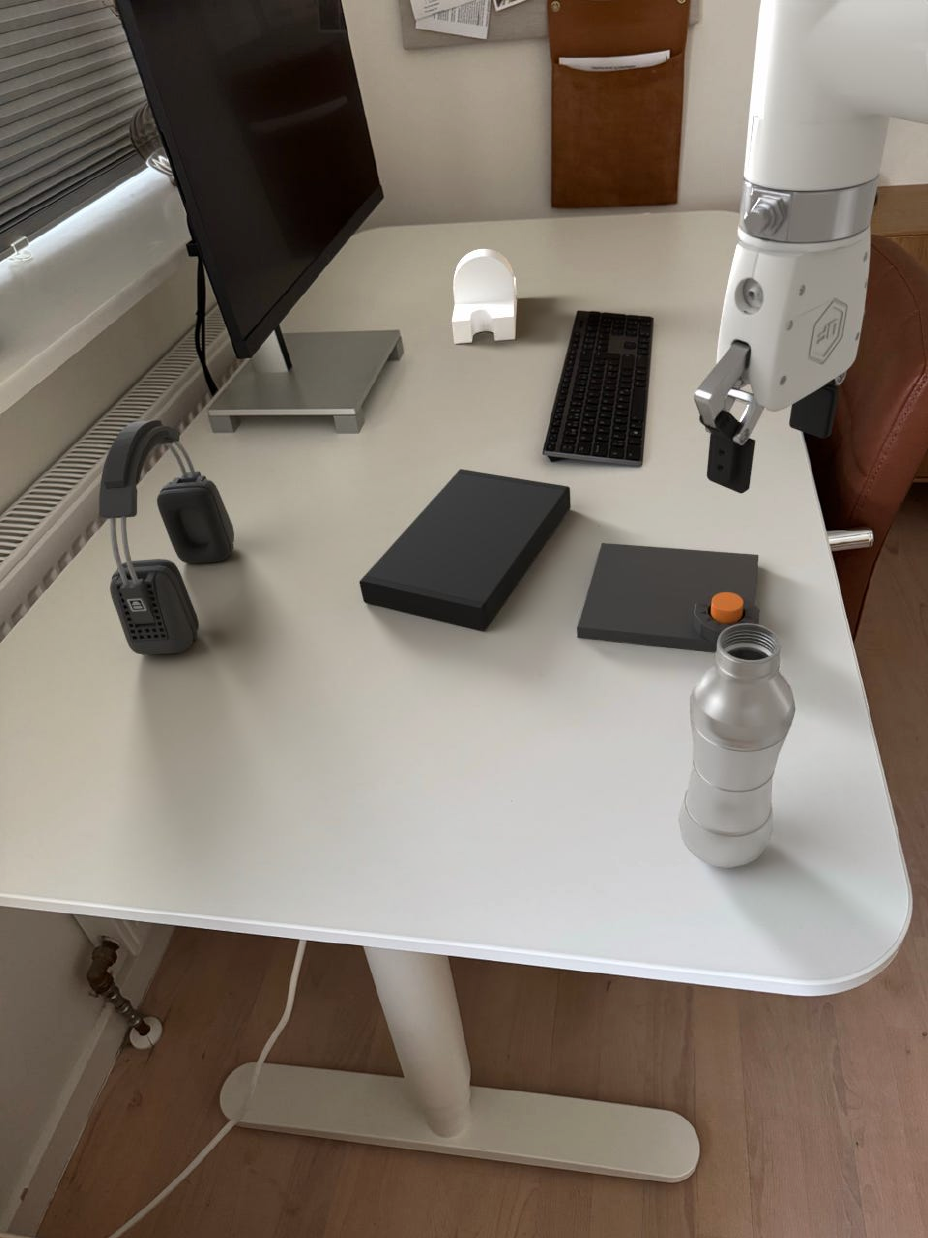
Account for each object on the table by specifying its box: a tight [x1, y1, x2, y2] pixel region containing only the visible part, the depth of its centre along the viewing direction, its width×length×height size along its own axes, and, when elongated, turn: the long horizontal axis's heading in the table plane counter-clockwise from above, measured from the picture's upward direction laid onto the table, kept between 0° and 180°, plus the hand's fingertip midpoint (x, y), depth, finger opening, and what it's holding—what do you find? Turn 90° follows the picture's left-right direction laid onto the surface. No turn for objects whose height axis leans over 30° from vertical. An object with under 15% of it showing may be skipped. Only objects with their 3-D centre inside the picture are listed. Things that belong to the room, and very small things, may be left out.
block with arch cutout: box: [451, 248, 518, 345], centre depth 146 cm, size 18×10×11 cm, turn 177°
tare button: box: [711, 592, 744, 624], centre depth 82 cm, size 3×3×2 cm
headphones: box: [98, 419, 235, 656], centre depth 92 cm, size 22×6×20 cm, turn 178°
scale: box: [576, 542, 760, 653], centre depth 88 cm, size 16×14×3 cm
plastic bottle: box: [677, 623, 796, 869], centre depth 60 cm, size 6×7×20 cm
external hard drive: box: [358, 468, 571, 633], centre depth 97 cm, size 14×23×3 cm, turn 154°
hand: (769, 457), depth 64 cm, fingers open, 9 cm apart
